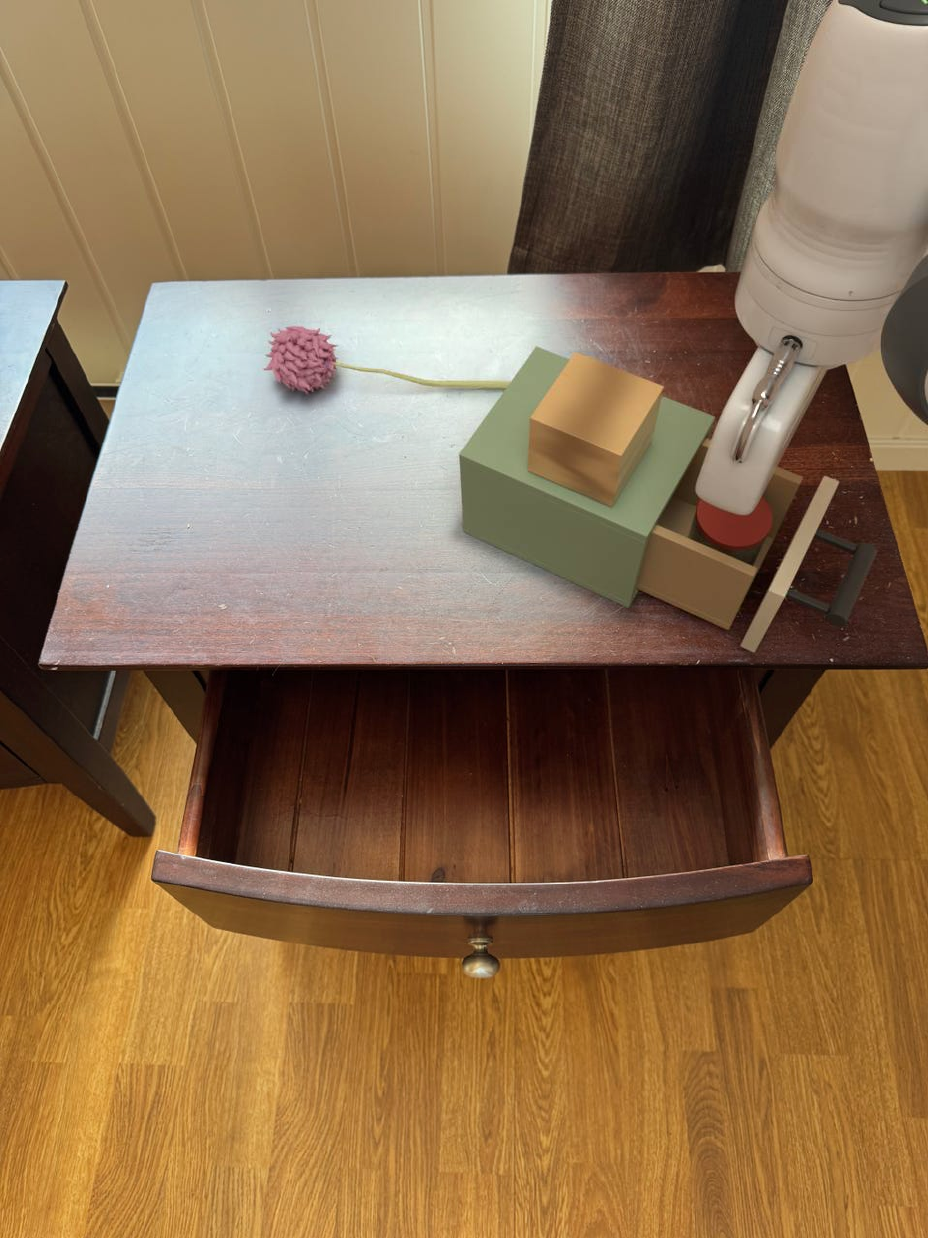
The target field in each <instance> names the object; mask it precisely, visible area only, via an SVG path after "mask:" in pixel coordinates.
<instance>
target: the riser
mask: <svg viewBox="0 0 928 1238" xmlns="http://www.w3.org/2000/svg"><path fill="white" fill-rule="evenodd" d="M664 389H665V386H664V385H661V384H659V383H656V382H654V381H652V380H649V379H646V378H644V377H641V376H638V375H636V374H633V373H631V372H628V371H625V370H623V369H620V368H618V367H615V366H612V365H610V364H608V363H605V362H603V361H600V360H597V359H596V358H595V359H594V358H592V357H589V356H588V355H585V354H582V353H579V352H577V351H575V352H573V355H572V356H571V358H570V360H569V362H568V363H567V365H566V366H565V367H564V369H563V370H562V372H561V373H560V375H559V376H558V378H557V379H556V381H555V382H554V383H553V385H552V386H551V388H550V389H549V391H548V392H547V394H546V395H545V397H544V398H543V399H542V401H541V402H540V404H539V405H538V407H537V408H536V410H535V411H534V413H533V414H532V415H531V417H530V429H529V450H528V471H530V472H532V473H534V474H537V475H539V476H541V477H543V478H546V479H548V480H550V481H553V482H555V483H557V484H560V485H562V486H564V487H566V488H569V489H571V490H573V491H576V492H578V493H580V494H583V495H585V496H587V497H589V498H592V499H594V500H596V501H599V502H601V503H603V504H606V505H608V506H610V507H612V506H613V505H614V503H615V502H616V500H617V498H618V497H619V495H620V493H621V492H622V490H623V488H624V487H625V485H626V483H627V482H628V480H629V478H630V477H631V475H632V473H633V472H634V470H635V468H636V467H637V465H638V463H639V462H640V460H641V458H642V457H643V455H644V453H645V452H646V450H647V448H648V447H649V445H650V443H651V442H652V438H653V434H654V429H655V425H656V421H657V416H658V412H659V407H660V403H661V399H662V396H663V394H664V391H665V390H664Z"/></svg>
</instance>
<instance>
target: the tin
mask: <svg viewBox="0 0 928 1238" xmlns="http://www.w3.org/2000/svg"><path fill="white" fill-rule="evenodd" d="M772 523H773V516H772V511H771V508H770V506H769V504H768V503H767V501H766V500H765V499H764V498H763V497H761V499H760V501H759V503H758V504H757V506H756V508H755V509H754V510H753V512H752V513H750V514H749V515H738V514H734V513H731V512H728V511H725V510H722V509H720V508H718V507H715V506H713V505H711V504H709V503H707V502H705V501H704V500H702V499H700V500H699V502H698V505H697V508H696V512H695V516H694V519H693V522H692V525H691V528H690V531H689V534H688V537H687V538H689V539H691V540H694V541H696V542H698V543H701V544H703V545H705V546H707V547H710V548H712V549H714V550H717V551H719V552H721V553H724V554H726V555H728V556H730V557H733V558H735V559H737V560H740V561H742V562H744V563H747V564H749V565H751V566H753V565H754V563H755V560H756V558H757V556H758V554H759V552H760V550H761V547H762V545H763V543H764V541H765V539H766V537H767V535H768V534H769V532H770V529H771V527H772Z"/></svg>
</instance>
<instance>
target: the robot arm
mask: <svg viewBox="0 0 928 1238" xmlns="http://www.w3.org/2000/svg"><path fill="white" fill-rule="evenodd" d="M793 88H794V89H793V92H792V94H791V97H790V100H789V103H788V107H787V110H786V113H785V117H784V120H783V123H782V127H781V130H780V133H779V138H778V141H777V143H776V144H777V145H776V149H775V154H774V176H775V177H774V184H773V187H772V189H771V191H770V194H769V195H767V198H766V199H765V201H764V202H763V204H762V205H761V208H760V209H759V212H758V213H757V217H756V219H755V222H754V226H753V229H752V233H751V236H750V240H749V244H748V247H747V250H746V255H745V258H744V261H743V264H742V268H741V272H740V275H739V279H738V282H737V287H736V290H735V294H734V308H735V313H736V316H737V319H738V321H739V323H740V325H741V326H742V328H743V329H744V331H745V332H746V333H747V335H749V337H750V338H751V339H753V341H754V343H755V345H756V347H757V348H756V350H755V352H754V353H753V355H752V356H751V358H750V361H749V362H748V364H747V365H746V367H745V368H744V371H743V372H742V374H741V376H740V377H739V379H738V381H737V383H736V385H735V386H734V388H733V390H732V392H731V394H730V396H729V397H728V399H727V401H726V403H725V405H724V407H723V410H722V412H721V414H720V417H719V418H718V421H717V423H716V426H715V429H714V431H713V434H712V436H711V439H710V440H711V442H710V445H709V448H708V450H707V453H706V456H705V459H704V462H703V465H702V468H701V471H700V474H699V477H698V479H697V483H696V488H695V491H696V494H697V495H698V497H699V498H701V499H702V500H704V501H705V502H707V503H709V504H711V505H713V506H715V507H718V508H720V509H722V510H725V511H728V512H731V513H734V514H738V515H749V514H750V513H752V512H753V510H754V509H755V508H756V506H757V504H758V503H759V501H760V499H761V497H762V495H763V493H764V491H765V489H766V487H767V485H768V483H769V481H770V479H771V478H772V476H773V474H774V472H775V470H776V468H777V467H779V464H780V462H781V460H782V458H783V456H784V454H785V452H786V450H787V448H788V446H789V445H790V443H791V441H792V439H793V437H794V435H795V433H796V431H797V429H798V427H799V425H800V424H801V421H802V419H803V418H804V416H805V414H806V411H807V410H808V408H809V406H810V404H811V402H812V400H813V398H814V396H815V395H816V392H817V390H818V389H819V387H820V385H821V382H823V381H822V380H823V378H824V377H825V375H826V373H827V371H828V370H832V369H835V368H838V367H841V366H844V365H849V364H853V363H856V362H859V361H862V360H864V359H867V358H868V357H871V356H872V355H874V354H875V353H877V352H879V351H880V356H881V361H882V364H883V367H884V370H885V373H886V375H887V377H888V379H889V381H890V382H891V385H892V386H893V388H894V389H895V391H896V392H897V394H898V396H899V397H900V399H901V400H902V402H903V403H904V404H905V405H906V406H907V408H908V409H909V410H910V411H911V412H912V413H913V414H914V415H915V416H916V417H917V418H918V419H919V420H920V421H921V422H923V424H925V425H926V426H928V0H832V1H831V2H830V4H829V6H828V7H827V9H826V11H825V13H824V15H823V17H822V18H821V20H820V23H819V25H818V27H817V29H816V32H815V33H814V36H813V38H812V41H811V43H810V45H809V48H808V50H807V53H806V55H805V58H804V59H803V62H802V66H801V68H800V71H799V74H798V76H797V79H796V82H795V86H794V87H793Z"/></svg>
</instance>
